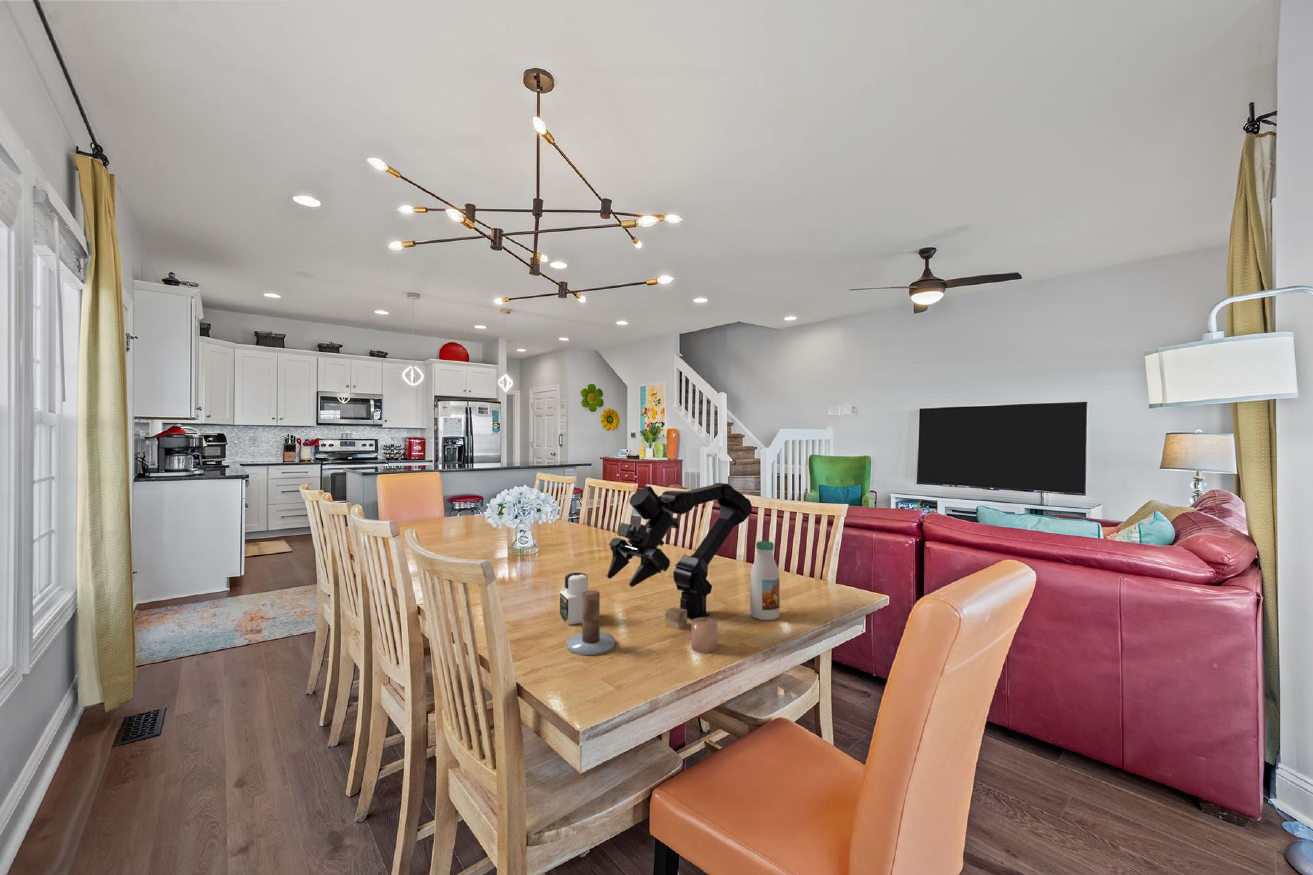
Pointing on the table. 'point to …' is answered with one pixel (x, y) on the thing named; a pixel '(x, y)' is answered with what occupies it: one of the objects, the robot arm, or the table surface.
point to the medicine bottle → (573, 598)
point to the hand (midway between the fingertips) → (619, 581)
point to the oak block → (676, 618)
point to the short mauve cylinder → (704, 635)
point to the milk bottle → (765, 584)
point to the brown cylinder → (590, 617)
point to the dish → (590, 645)
